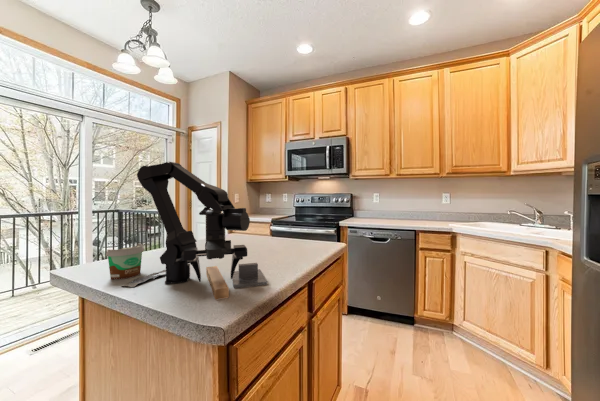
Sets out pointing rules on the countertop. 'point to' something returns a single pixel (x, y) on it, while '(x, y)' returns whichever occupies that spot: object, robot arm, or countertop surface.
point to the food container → (125, 262)
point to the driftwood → (143, 279)
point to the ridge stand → (248, 276)
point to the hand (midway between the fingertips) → (215, 280)
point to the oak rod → (217, 283)
